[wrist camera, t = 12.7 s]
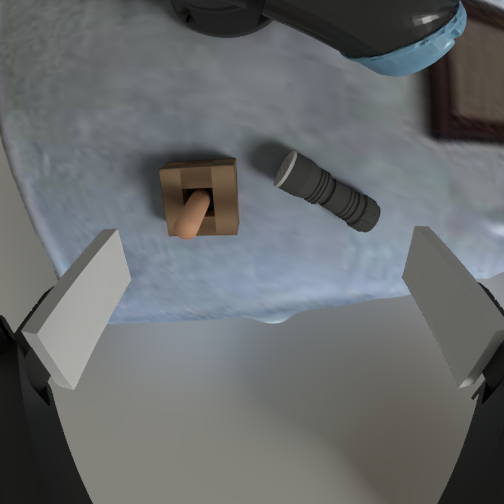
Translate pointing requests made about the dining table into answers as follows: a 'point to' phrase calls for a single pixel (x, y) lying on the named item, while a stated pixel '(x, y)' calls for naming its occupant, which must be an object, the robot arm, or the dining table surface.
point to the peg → (193, 213)
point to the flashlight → (326, 192)
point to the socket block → (202, 176)
